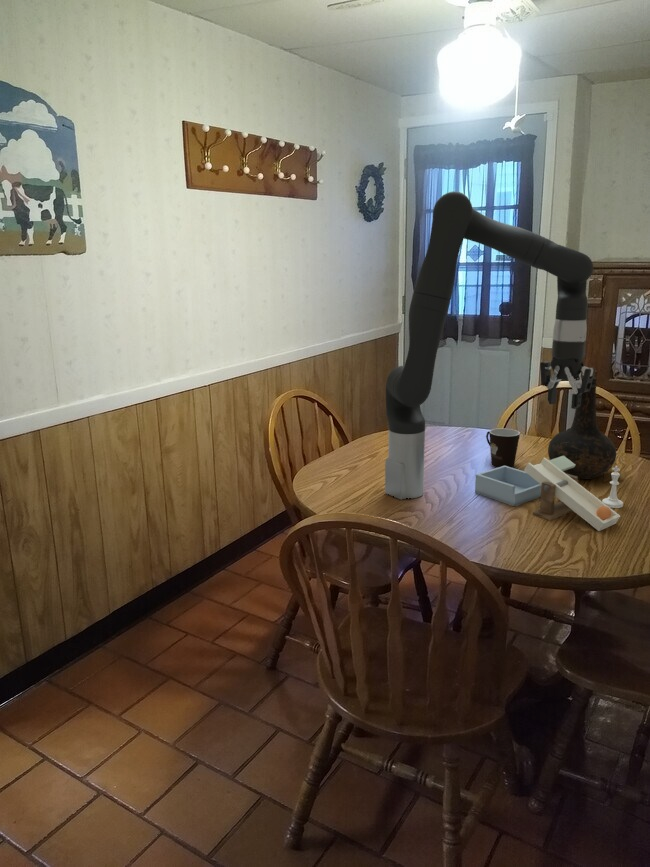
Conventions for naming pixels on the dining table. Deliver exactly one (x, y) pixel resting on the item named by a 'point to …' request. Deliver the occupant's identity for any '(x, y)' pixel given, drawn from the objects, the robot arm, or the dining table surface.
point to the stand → (551, 502)
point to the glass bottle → (584, 441)
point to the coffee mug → (503, 446)
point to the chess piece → (613, 492)
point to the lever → (571, 490)
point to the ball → (603, 512)
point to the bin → (507, 485)
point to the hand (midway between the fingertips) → (563, 405)
